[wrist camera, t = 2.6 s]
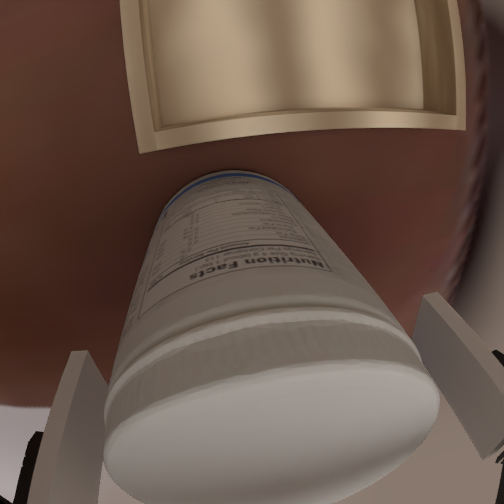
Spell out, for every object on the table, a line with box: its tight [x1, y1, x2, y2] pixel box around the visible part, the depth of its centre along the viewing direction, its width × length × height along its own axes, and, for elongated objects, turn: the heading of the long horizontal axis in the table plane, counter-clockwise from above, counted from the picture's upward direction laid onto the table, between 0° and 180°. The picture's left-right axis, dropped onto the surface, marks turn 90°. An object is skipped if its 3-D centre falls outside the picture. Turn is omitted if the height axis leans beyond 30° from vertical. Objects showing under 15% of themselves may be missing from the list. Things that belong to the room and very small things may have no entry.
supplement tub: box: [103, 170, 440, 504], centre depth 13 cm, size 10×10×15 cm
